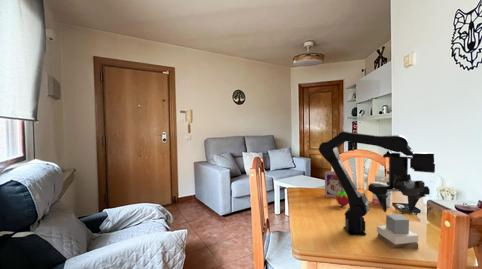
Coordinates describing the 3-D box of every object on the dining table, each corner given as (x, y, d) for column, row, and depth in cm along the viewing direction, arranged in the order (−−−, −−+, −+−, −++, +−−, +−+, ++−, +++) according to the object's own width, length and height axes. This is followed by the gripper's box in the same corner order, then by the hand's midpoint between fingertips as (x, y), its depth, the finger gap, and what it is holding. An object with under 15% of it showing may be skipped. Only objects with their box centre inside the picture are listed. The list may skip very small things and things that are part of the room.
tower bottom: (391, 250, 82) (391, 243, 81) (377, 237, 91) (378, 231, 90) (418, 250, 81) (418, 243, 81) (401, 237, 90) (401, 231, 90)
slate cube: (394, 233, 83) (395, 220, 83) (386, 227, 88) (386, 214, 88) (408, 233, 83) (408, 219, 83) (399, 227, 88) (399, 214, 88)
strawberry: (348, 210, 117) (348, 190, 117) (334, 206, 123) (334, 188, 122) (352, 206, 122) (352, 188, 121) (338, 203, 127) (338, 185, 126)
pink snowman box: (324, 196, 139) (324, 172, 138) (325, 193, 146) (325, 169, 145) (345, 198, 134) (345, 173, 134) (345, 195, 141) (345, 170, 140)
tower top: (395, 244, 81) (395, 237, 81) (376, 232, 90) (377, 225, 90) (418, 242, 82) (418, 235, 82) (397, 230, 91) (398, 224, 91)
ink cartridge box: (372, 203, 126) (372, 176, 125) (374, 201, 130) (374, 175, 129) (390, 207, 120) (390, 179, 119) (392, 204, 124) (392, 177, 123)
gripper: (384, 175, 77) (383, 221, 78) (442, 174, 76) (441, 221, 77) (367, 168, 88) (367, 208, 89) (418, 168, 87) (418, 208, 88)
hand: (397, 211), depth 85 cm, fingers open, 9 cm apart
